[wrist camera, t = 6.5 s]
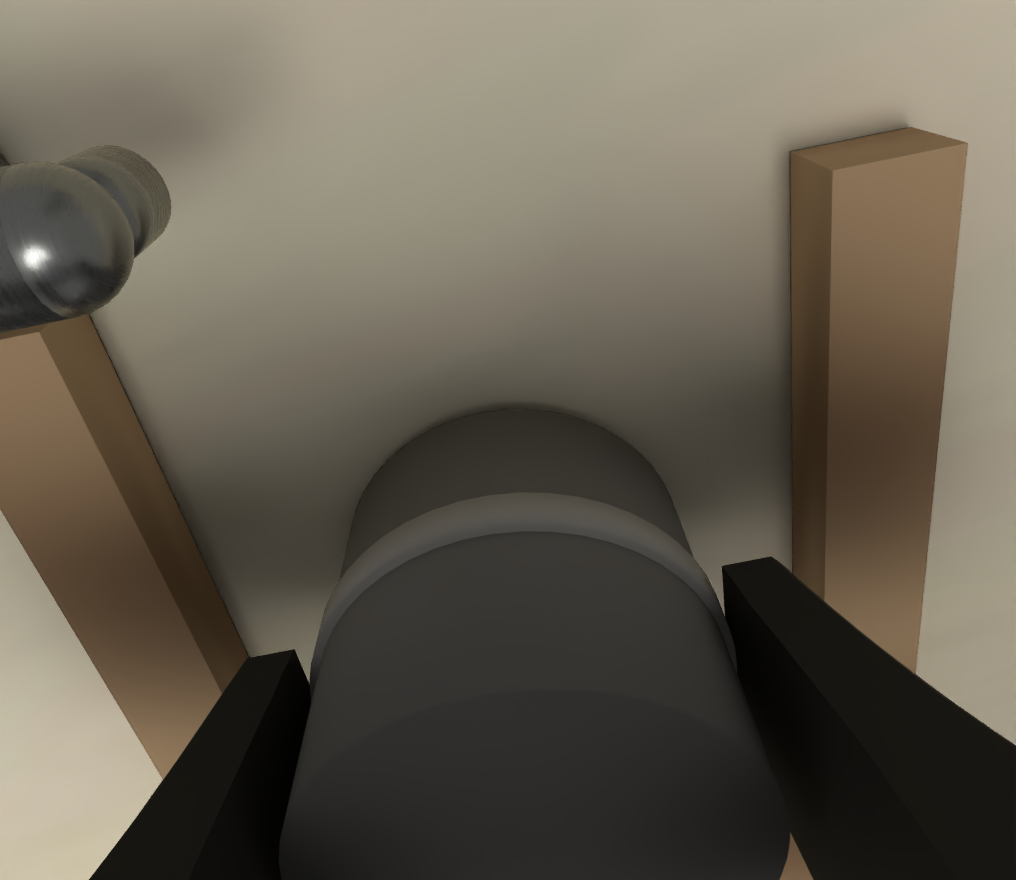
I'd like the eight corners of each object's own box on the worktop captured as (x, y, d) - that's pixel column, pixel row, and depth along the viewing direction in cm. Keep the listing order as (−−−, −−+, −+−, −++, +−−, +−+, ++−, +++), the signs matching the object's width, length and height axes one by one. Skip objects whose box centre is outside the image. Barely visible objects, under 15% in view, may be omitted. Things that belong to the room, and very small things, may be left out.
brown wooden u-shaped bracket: (865, 844, 17) (893, 900, 16) (310, 948, 17) (301, 1010, 16) (911, 126, 10) (968, 142, 9) (-37, 320, 10) (-91, 358, 9)
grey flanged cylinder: (710, 636, 13) (824, 956, 9) (411, 706, 14) (381, 1038, 9) (648, 358, 11) (764, 617, 6) (286, 459, 11) (168, 758, 7)
